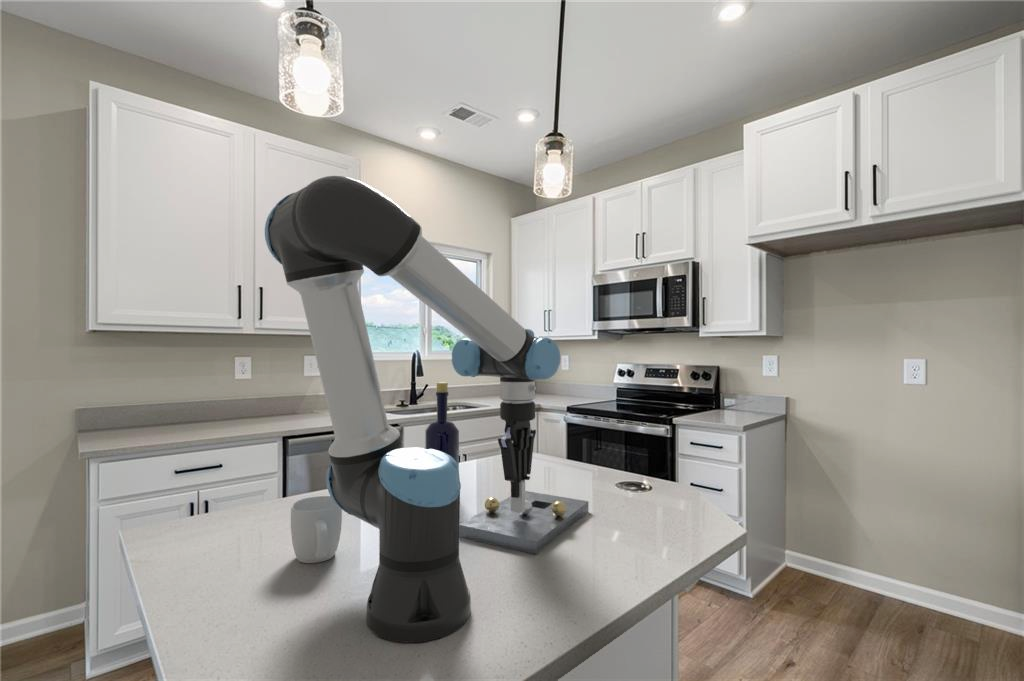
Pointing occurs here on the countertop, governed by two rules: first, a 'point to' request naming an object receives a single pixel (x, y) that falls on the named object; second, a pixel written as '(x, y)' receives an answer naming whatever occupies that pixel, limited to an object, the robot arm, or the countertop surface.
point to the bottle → (443, 428)
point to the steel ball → (527, 507)
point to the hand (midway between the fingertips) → (518, 510)
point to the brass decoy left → (491, 504)
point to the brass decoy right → (558, 508)
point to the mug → (315, 528)
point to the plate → (524, 523)
